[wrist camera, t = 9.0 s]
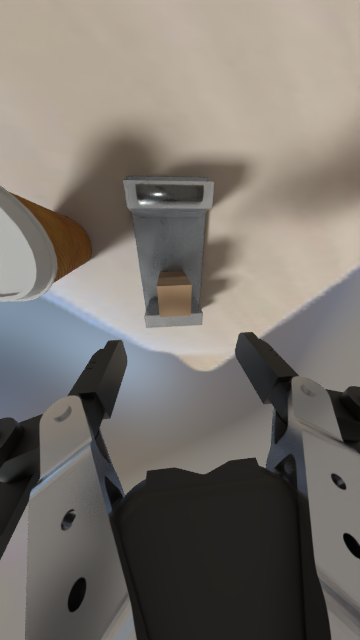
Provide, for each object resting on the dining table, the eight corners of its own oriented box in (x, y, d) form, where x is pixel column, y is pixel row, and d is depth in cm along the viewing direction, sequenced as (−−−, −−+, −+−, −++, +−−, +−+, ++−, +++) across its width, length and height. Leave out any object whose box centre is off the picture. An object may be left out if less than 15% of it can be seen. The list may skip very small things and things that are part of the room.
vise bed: (127, 178, 17) (108, 147, 12) (206, 179, 18) (225, 151, 12) (147, 313, 27) (142, 333, 21) (198, 310, 28) (206, 329, 22)
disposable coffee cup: (11, 205, 18) (-205, 159, 7) (85, 195, 18) (-27, 134, 8) (54, 280, 23) (-40, 314, 12) (112, 271, 23) (67, 298, 12)
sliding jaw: (135, 197, 18) (118, 174, 11) (200, 198, 18) (218, 176, 12) (138, 216, 19) (124, 205, 12) (199, 216, 19) (215, 206, 13)
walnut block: (159, 272, 23) (156, 286, 16) (184, 271, 23) (191, 285, 16) (161, 295, 25) (159, 317, 18) (184, 294, 25) (190, 315, 18)
